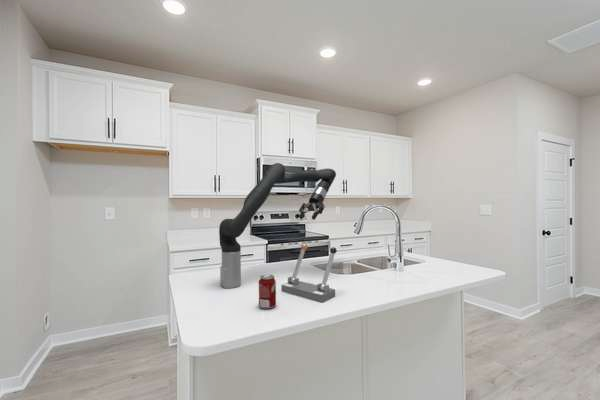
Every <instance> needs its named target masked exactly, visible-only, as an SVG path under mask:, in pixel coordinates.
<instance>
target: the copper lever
mask: <svg viewBox="0 0 600 400" xmlns="http://www.w3.org/2000/svg"><path fill="white" fill-rule="evenodd" d="M300 247H301V248H300V253H299V256H298V259H297V261H296V264H295V268H294V270H293V274H292V276H290V277H291V278H290V282H291V283H294V279H296V278H298V274H299V272H300V268H301V264H302V261H303V259H304V255H305V253H306V250H307V249H308V245H307V244H306V243H303V244H302V245H301V246H300Z"/></svg>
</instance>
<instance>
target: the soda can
mask: <svg viewBox="0 0 600 400" xmlns="http://www.w3.org/2000/svg"><path fill="white" fill-rule="evenodd" d="M276 283H277V281H276V279H275V276H274V275H273V274H264V275H261V276H260V278H259V280H258V306H259V308H261V309H265V310H270V309H273V308H274V307H276V306H277V284H276Z"/></svg>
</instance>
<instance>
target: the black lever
mask: <svg viewBox="0 0 600 400" xmlns="http://www.w3.org/2000/svg"><path fill="white" fill-rule="evenodd" d="M337 251H338V250H337V248H336V247H333V246H332V247H331V248H329V252H330V253H329V257H328V260H327V264H326V267H325V271H324V273H323V274H324V275H323V278H322V280H321V283H322V284H320V286H319V289H320V290H323V291H325V288H324V286H326V285H327V282H328V279H329V276H330V273H331V269H332V265H333V262H334V257H335V255H336V253H337Z"/></svg>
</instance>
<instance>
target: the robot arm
mask: <svg viewBox="0 0 600 400" xmlns="http://www.w3.org/2000/svg"><path fill="white" fill-rule="evenodd" d="M336 176H337V173H336V170H334V169H332V168H321V169H316V170H315V169H305V170H304V169H303V170H300V171H299V170H298V171H296V172H291V173H289V172H287V173H286V168H285V165H283V164H282V163H280V162H276V163H275V162H274V163H273V164H271V165H270V167H269V168H268V169H267V170H266V173H265V174H264V175H263V177H262V178H261V179H260V180H259V181H258V182H257V184H256V185H255V186H254V187H253V189H251V190H250V192H249V193H248V194H247V195H246V197H245V199H244V201H243V205H242V208H241V210H240V212H239V213H238V214H237V215H236V216H235V217H234V218H224V219H222V221H221V222H220V224H219V227H218V234H219V237H218V238H219V246H220V249H221V266H220V270H219V271H220V272H219V273H220V275H219V276H220V277H219V278H220V283H219V284H220V286H221V287H222V288H223V289H233V288H238V287H240V286H241V285H242V271H241V270H242V266H241V264H242V261H241V257H242V256H241V255H242V254H241V250H242V249H241V244H240V243H238V241H237V238H239V237H241V236H242V234H243V233H244V232H245V230H246V228H247V227H248V225H249V223H250V222H251V220H252V219H253V217H254V216H255V215H256V213H257V212H259V209H260V208H261V207H262V206H263V204H264V203H265V202H266V201H267V199H268V197H269V196H270V193H271V191H272V190H273V188H274V185H275V184H276V185H277V184H278V185H279V184H280V185H281V184H285V183H286V184H289V183H299V182H300V183H301V182H304V183H305V182H307V183H318V182H319V183H318V184H317V185H316V188H315V189H314V190H313V192H312V193H311V196H310V197H309V198H308V199H309V200H308V203H305V202H303V203H302V204H301V206H300V207H299V209H298V211H299V216H298V218H299V220H303V218H304V216H305V214H307V213H310V212H313V214H312V215H311V219H312V220H316V219H317V216H319V214H320V215H322V214H323V211H324V210H325V207H326V206H325V204H324V203H323V202H324V201H325V199H326V197H327V193H328V192H329V191H330V187H331V186H332V184H333V182H334V181H335V179H336Z"/></svg>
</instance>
